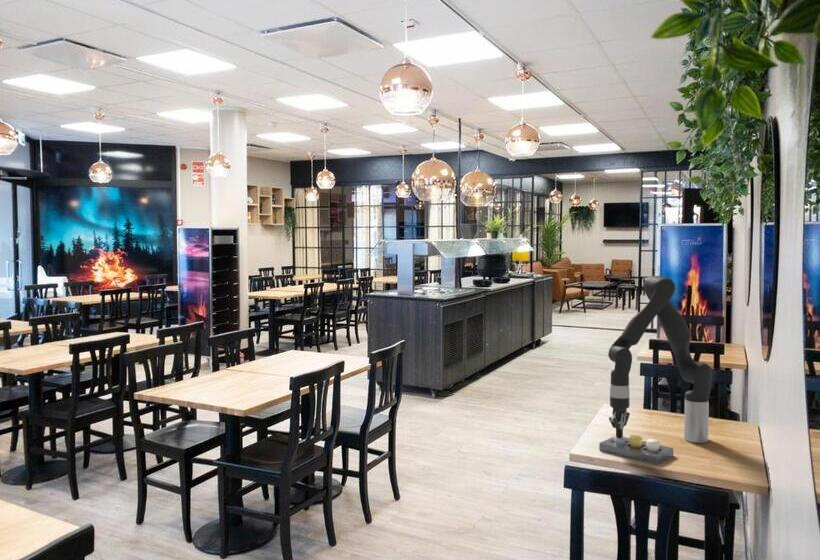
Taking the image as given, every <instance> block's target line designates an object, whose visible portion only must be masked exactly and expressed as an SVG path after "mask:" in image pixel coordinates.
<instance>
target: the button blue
mask: <svg viewBox="0 0 820 560" xmlns="http://www.w3.org/2000/svg"><path fill="white" fill-rule="evenodd" d="M613 437H614V443H617V444H621V445H623V444H625V443H626V438H625V437H626V436H624V435H623V437H622V438H617V437H616V435H614V436H613Z"/></svg>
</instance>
